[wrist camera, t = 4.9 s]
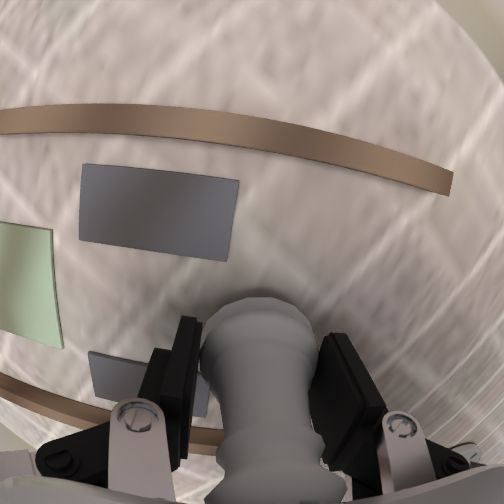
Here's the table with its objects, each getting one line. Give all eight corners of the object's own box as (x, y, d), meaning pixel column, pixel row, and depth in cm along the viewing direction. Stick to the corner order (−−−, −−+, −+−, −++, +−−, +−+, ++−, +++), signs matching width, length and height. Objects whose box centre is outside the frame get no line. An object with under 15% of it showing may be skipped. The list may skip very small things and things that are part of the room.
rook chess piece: (239, 396, 13) (248, 563, 5) (176, 326, 11) (127, 520, 4) (329, 351, 12) (400, 518, 5) (277, 268, 11) (348, 468, 3)
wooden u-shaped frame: (436, 169, 11) (458, 173, 10) (336, 441, 16) (342, 459, 14) (-51, 121, 8) (-69, 122, 7) (-19, 372, 13) (-30, 384, 12)
